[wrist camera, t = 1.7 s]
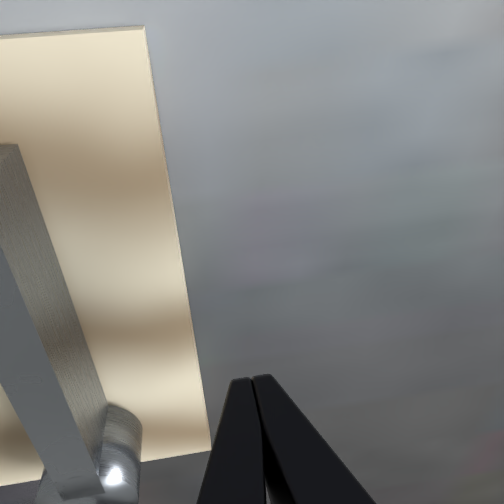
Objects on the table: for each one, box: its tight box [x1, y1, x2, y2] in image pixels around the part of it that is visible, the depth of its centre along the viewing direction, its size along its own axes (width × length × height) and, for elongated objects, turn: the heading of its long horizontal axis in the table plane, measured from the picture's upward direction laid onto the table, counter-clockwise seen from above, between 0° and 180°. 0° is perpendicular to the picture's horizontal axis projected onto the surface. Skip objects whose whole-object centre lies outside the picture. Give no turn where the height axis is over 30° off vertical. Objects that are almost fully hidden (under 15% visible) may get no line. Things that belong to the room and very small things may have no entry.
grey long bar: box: [0, 144, 143, 504], centre depth 14 cm, size 14×4×3 cm, turn 3°
